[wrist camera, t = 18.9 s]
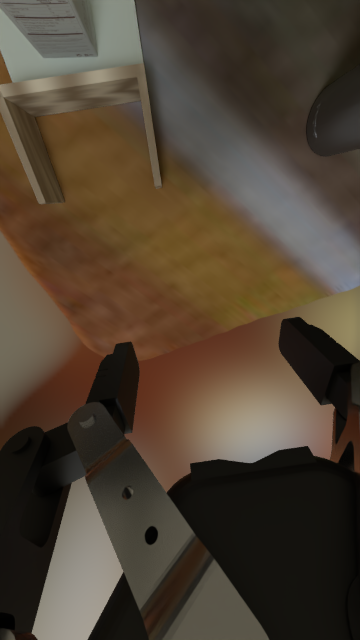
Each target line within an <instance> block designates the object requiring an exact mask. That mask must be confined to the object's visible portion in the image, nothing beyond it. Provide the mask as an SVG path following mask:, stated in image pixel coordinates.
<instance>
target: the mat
mask: <svg viewBox="0 0 360 640" xmlns="http://www.w3.org/2000/svg"><path fill="white" fill-rule="evenodd" d="M89 3H90V9H91V15H92V21H93V27H94V33H95V39H96V45H97V52H98V57H77V58H43V57H42V56H41V55H40V54H39V52H38V51H37V50H36V49H35V48H34V47H33V45H32V44H31V43H30V42H29V41H28V40H27V39H26V37H25V36H24V35H23V34H22V33H21V32H20V30H19V29H18V28H17V27H16V26H15V25H14V23H13V22H12V21H11V20H10V19H9V18H8V16H7V15H6V14H5V13H4V12H3V11H2V9H1V8H0V50H1V53H2V56H3V58H4V61H5V64H6V66H7V69H8V72H9V74H10V77H11V80H12V82H13V83H15V82H22V81H29V80H35V79H42V78H48V77H55V76H62V75H68V74H75V73H82V72H88V71H95V70H101V69H108V68H115V67H121V66H128V65H134V64H141V63H143V57H142V50H141V43H140V36H139V29H138V23H137V16H136V9H135V2H134V0H89Z"/></svg>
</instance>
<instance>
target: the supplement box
mask: <svg viewBox="0 0 360 640" xmlns="http://www.w3.org/2000/svg"><path fill="white" fill-rule="evenodd" d="M0 8H1V9H2V11H3V12H4V13H5V14H6V15H7V16H8V18H9V19H10V20H11V21H12V22H13V23H14V25H15V26H16V27H17V28H18V29H19V30H20V32H21V33H22V34H23V35H24V36H25V37H26V39H27V40H28V41H29V42H30V43H31V44H32V45H33V47H34V48H35V49H36V50H37V51H38V52H39V54H40V55H41V56H42V57H43V58H77V57H98V52H97V45H96V39H95V33H94V27H93V21H92V15H91V9H90V3H89V0H0Z"/></svg>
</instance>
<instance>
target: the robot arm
mask: <svg viewBox="0 0 360 640" xmlns="http://www.w3.org/2000/svg"><path fill="white" fill-rule="evenodd" d="M307 140H308V143H309V146H310V147H311V149H312V150H313V151H314V152H315V153H316V154H318V155H320V156H332V155H336V154H340V153H344V152H348V151H352V150H356V149H360V65H358V66H357V67H355V68H354V69H352V70H351V71H349V72H348V73H346V74H345V75H343V76H342V77H340V78H339V79H337V80H336V81H334V82H333V83H332V84H330V85H329V86H327V87H326V88H325V89H324V90H323V91H322V92H321V94H320V95H319V96H318V98H317V99H316V101H315V103H314V105H313V107H312V109H311V111H310V114H309V117H308V122H307ZM279 349H280V352H281V354H282V355H283V356H284V358H285V359H286V360H287V361H288V363H289V364H290V366H291V367H292V368H293V370H294V371H295V372H296V374H297V375H298V376H299V377H300V379H301V380H302V381H303V383H304V384H305V385H306V386H307V388H308V389H309V390H310V392H311V393H312V394H313V396H314V397H315V398H316V400H317V401H318V402H319V403H320V405H326V404H333V405H334V407H335V409H334V412H333V433H332V451H331V457H330V460H328V459H325V458H320V457H317V456H313V454H312V452H311V451H310V449H309V447H308V446H304V447H298V448H291V449H284V450H279V451H276V452H274V453H272V454H271V455H269V456H267V457H265V458H262V459H260V460H258V461H256V462H254V463H243V462H235V461H228V460H220V459H217V460H211V461H204V462H198V463H191V464H190V467H191V473H190V474H188V475H186V476H184V477H183V478H181V479H180V480H179V481H177V482H176V483H175V484H174V485H173V486H172V487H171V488H170V489H169V491H168V492H167V493H166V492H165V490H164V489H163V488H162V486H161V485H160V483H159V482H158V480H157V479H156V477H155V476H154V474H153V473H152V472H151V470H150V469H149V467H148V466H147V464H146V463H145V461H144V460H143V459H142V457H141V456H140V454H139V453H138V452H137V450H136V449H135V447H134V446H133V444H132V443H131V442H130V441H129V440H127V439H126V438H125V436H124V434H126V433H132V430H133V422H134V414H135V413H134V412H135V406H136V398H137V390H138V382H139V364H138V361H137V357H136V354H135V351H134V348H133V345H132V342H125V343H119V344H116V346H115V349H114V352H113V354H110V355H107V356H106V357H105V358H104V360H102V362H101V363H100V366H99V369H98V372H97V374H96V378H95V380H94V382H93V385H92V388H91V390H90V393H89V396H88V399H87V401H86V404H85V405H84V406H82V407H80V408H79V409H77V410H76V411H75V412H74V413H73V414H72V416H71V417H70V419H69V421H68V423H65V424H63V425H61V426H59V427H57V428H54V429H52V430H50V431H47V432H44V431H43V430H42V429H41V428H40V427H35V426H34V427H28V428H26V429H23V430H21V431H20V432H18V433H17V434H15V435H14V436H13V437H11V438H10V439H9V440H8V441H7V442H6V443H5V445H4V446H3V447H2V449H1V451H0V640H37V638H36V637H35V635H33V634H32V629H33V625H34V621H35V618H36V614H37V610H38V607H39V603H40V599H41V595H42V592H43V588H44V584H45V580H46V577H47V573H48V569H49V565H50V562H51V558H52V554H53V550H54V547H55V543H56V539H57V536H58V532H59V528H60V524H61V520H62V517H63V513H64V509H65V506H66V502H67V498H68V494H69V491H70V487H71V483H72V482H74V481H76V480H77V479H80V478H82V477H83V476H85V479H86V482H87V484H88V487H89V489H90V492H91V494H92V496H93V499H94V501H95V504H96V506H97V509H98V511H99V513H100V516H101V518H102V521H103V523H104V525H105V528H106V530H107V533H108V535H109V538H110V540H111V542H112V545H113V547H114V550H115V552H116V554H117V557H118V559H119V562H120V564H121V566H122V569H123V571H124V572H123V574H122V576H121V578H120V579H119V581H118V583H117V585H116V587H115V589H114V591H113V593H112V595H111V596H110V598H109V600H108V602H107V604H106V606H105V608H104V610H103V612H102V613H101V616H100V617H99V619H98V621H97V623H96V625H95V627H94V629H93V630H92V632H91V634H90V636H89V638H88V640H360V361H359V360H358V359H357V358H356V357H354V356H353V355H352V354H351V353H350V352H348V351H347V350H346V349H345V348H344V347H342V346H341V345H340V344H338V343H336V341H335V340H334V339H333V338H331V337H330V336H329V335H328V334H327V333H325V332H324V331H323V330H321V329H319V328H317V327H315V326H313V325H309V324H307V323H306V322H305V321H304V320H303V319H302V318H300V317H295V318H288V319H283V321H282V323H281V330H280V337H279Z"/></svg>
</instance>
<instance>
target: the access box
mask: <svg viewBox="0 0 360 640" xmlns="http://www.w3.org/2000/svg"><path fill="white" fill-rule="evenodd" d="M137 101H141V103H142V110H143V116H144V122H145V128H146V135H147V141H148V147H149V153H150V159H151V166H152V172H153V178H154V184H155V188H156V189H157V188H162V184H161V177H160V171H159V164H158V157H157V150H156V143H155V136H154V130H153V123H152V116H151V109H150V102H149V95H148V89H147V82H146V75H145V68H144V63H141V64H134V65H128V66H121V67H115V68H108V69H101V70H95V71H88V72H82V73H75V74H68V75H62V76H55V77H48V78H42V79H35V80H29V81H22V82H15V83H9V84H2V85H0V112H1V114H2V117H3V119H4V121H5V124H6V126H7V129H8V131H9V133H10V136H11V138H12V141H13V143H14V145H15V148H16V150H17V153H18V155H19V157H20V160H21V162H22V165H23V167H24V169H25V172H26V174H27V177H28V179H29V181H30V184H31V186H32V188H33V191H34V193H35V196H36V198H37V200H38V203H39V204H52V203H64V202H65V200H64V198H63V195H62V192H61V189H60V187H59V184H58V181H57V178H56V175H55V173H54V170H53V167H52V164H51V162H50V159H49V156H48V153H47V150H46V148H45V145H44V142H43V139H42V137H41V134H40V131H39V128H38V125H37V123H36V120H35V117H38V116H45V115H51V114H58V113H64V112H71V111H78V110H84V109H91V108H98V107H104V106H111V105H117V104H124V103H131V102H137Z"/></svg>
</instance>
